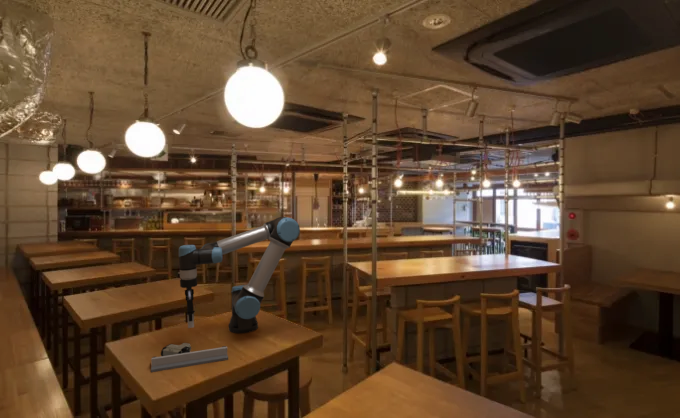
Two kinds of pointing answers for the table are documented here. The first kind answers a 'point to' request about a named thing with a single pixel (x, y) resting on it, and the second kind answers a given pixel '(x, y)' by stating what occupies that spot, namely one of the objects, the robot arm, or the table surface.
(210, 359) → the curved pull handle
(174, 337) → the table surface
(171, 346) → the pneumatic valve
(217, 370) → the table surface
